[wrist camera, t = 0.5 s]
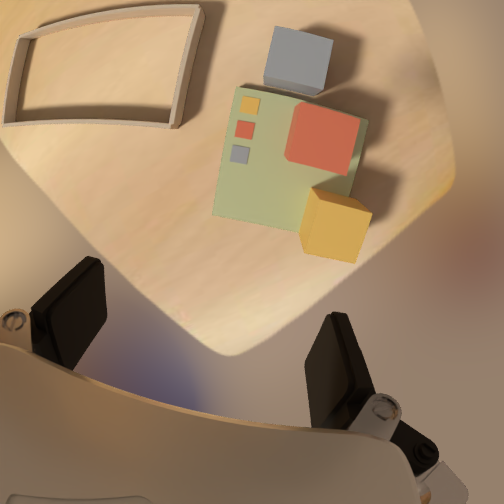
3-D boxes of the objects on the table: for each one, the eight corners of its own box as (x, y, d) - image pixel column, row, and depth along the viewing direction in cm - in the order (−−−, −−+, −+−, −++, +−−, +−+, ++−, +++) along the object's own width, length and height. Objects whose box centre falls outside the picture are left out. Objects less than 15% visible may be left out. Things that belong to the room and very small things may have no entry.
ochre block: (310, 187, 33) (319, 199, 27) (356, 199, 33) (372, 213, 27) (298, 232, 35) (304, 253, 30) (342, 242, 35) (354, 263, 30)
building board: (236, 88, 29) (235, 86, 28) (365, 120, 30) (369, 120, 29) (213, 212, 36) (211, 215, 35) (333, 237, 36) (335, 241, 35)
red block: (294, 106, 29) (301, 101, 23) (344, 120, 29) (360, 119, 23) (283, 155, 31) (287, 160, 26) (332, 167, 31) (346, 176, 26)
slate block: (273, 42, 26) (275, 25, 21) (322, 53, 27) (333, 40, 21) (263, 84, 29) (263, 75, 23) (313, 96, 29) (323, 89, 24)
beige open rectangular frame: (29, 37, 23) (18, 35, 20) (206, 13, 25) (201, 4, 22) (13, 125, 30) (1, 127, 27) (180, 129, 31) (172, 129, 29)
